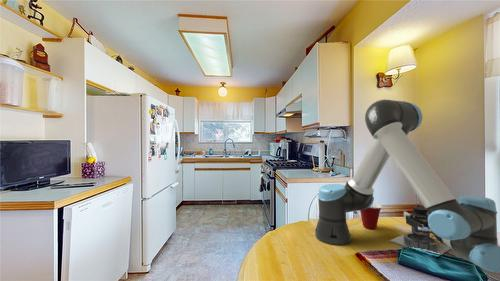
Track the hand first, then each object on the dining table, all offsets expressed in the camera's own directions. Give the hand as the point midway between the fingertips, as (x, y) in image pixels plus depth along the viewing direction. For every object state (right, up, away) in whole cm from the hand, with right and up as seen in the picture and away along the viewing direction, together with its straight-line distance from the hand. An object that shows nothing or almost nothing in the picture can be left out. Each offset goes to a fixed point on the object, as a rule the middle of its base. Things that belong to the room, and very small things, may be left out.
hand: (413, 215), depth 95 cm
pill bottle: (-1, -7, -5) cm, 8 cm away
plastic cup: (-12, -11, +13) cm, 21 cm away
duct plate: (-1, -11, -5) cm, 12 cm away
